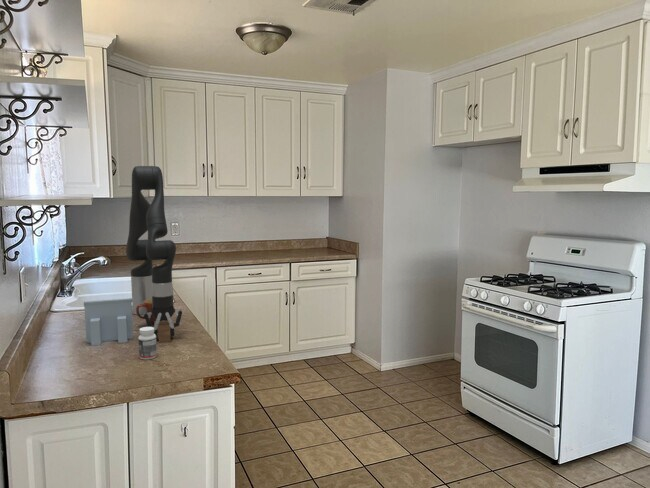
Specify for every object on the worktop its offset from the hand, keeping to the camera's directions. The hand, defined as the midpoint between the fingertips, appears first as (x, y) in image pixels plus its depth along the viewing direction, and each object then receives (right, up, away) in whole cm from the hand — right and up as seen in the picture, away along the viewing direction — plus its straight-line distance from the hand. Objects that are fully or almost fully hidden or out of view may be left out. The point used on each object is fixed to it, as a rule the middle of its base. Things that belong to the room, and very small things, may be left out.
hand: (164, 338), depth 186 cm
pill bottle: (+1, -3, -19) cm, 19 cm away
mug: (-11, +1, +18) cm, 21 cm away
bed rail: (-1, 0, +3) cm, 3 cm away
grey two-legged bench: (-19, -1, -3) cm, 19 cm away
